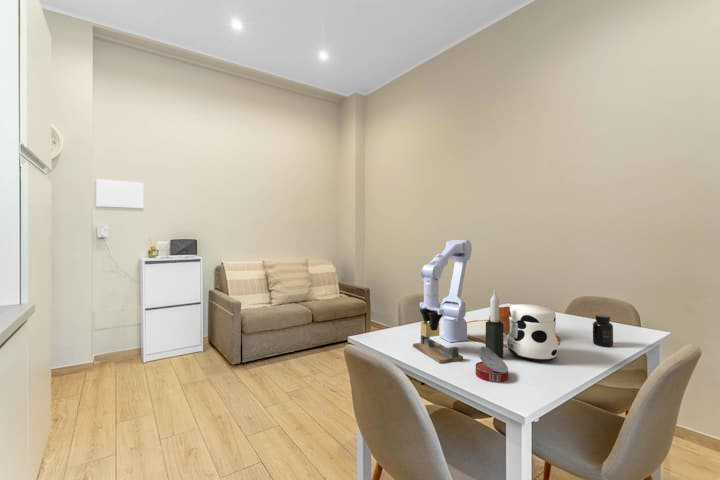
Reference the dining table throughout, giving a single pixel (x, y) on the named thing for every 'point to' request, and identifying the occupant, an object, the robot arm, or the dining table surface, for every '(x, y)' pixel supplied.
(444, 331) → the robot arm
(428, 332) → the block
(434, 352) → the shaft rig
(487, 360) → the canned food
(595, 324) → the supplement bottle
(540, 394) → the dining table surface
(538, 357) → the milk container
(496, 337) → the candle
